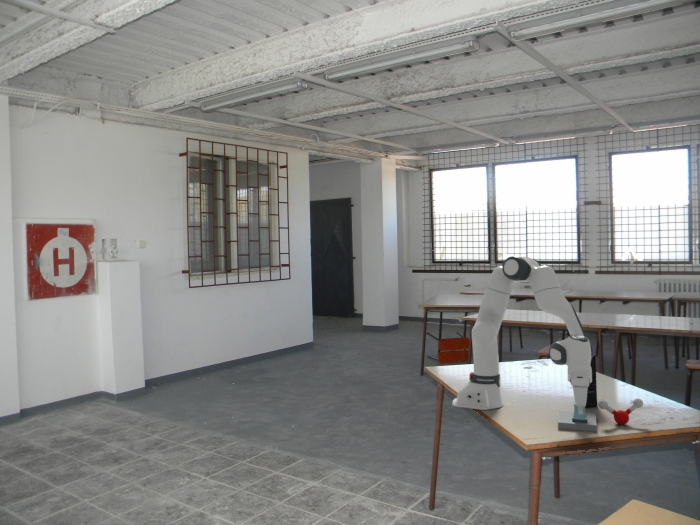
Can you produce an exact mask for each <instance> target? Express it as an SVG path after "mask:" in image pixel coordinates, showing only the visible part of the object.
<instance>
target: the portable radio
mask: <svg viewBox="0 0 700 525" xmlns="http://www.w3.org/2000/svg"><path fill="white" fill-rule="evenodd" d="M590 365H591V369H592V382H591V383H590V384H589V386H588V390H587V400H586V406H585V409H588V408H596V407H598V390H597V389H598V388H597V358H596V355H595V354H593V357H592V359H591V362H590Z"/></svg>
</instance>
